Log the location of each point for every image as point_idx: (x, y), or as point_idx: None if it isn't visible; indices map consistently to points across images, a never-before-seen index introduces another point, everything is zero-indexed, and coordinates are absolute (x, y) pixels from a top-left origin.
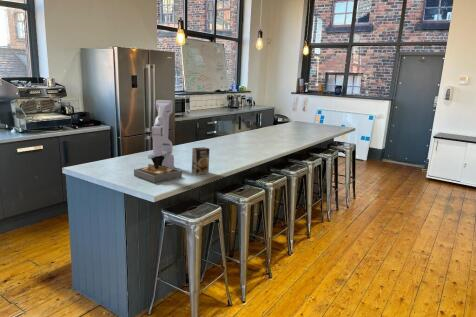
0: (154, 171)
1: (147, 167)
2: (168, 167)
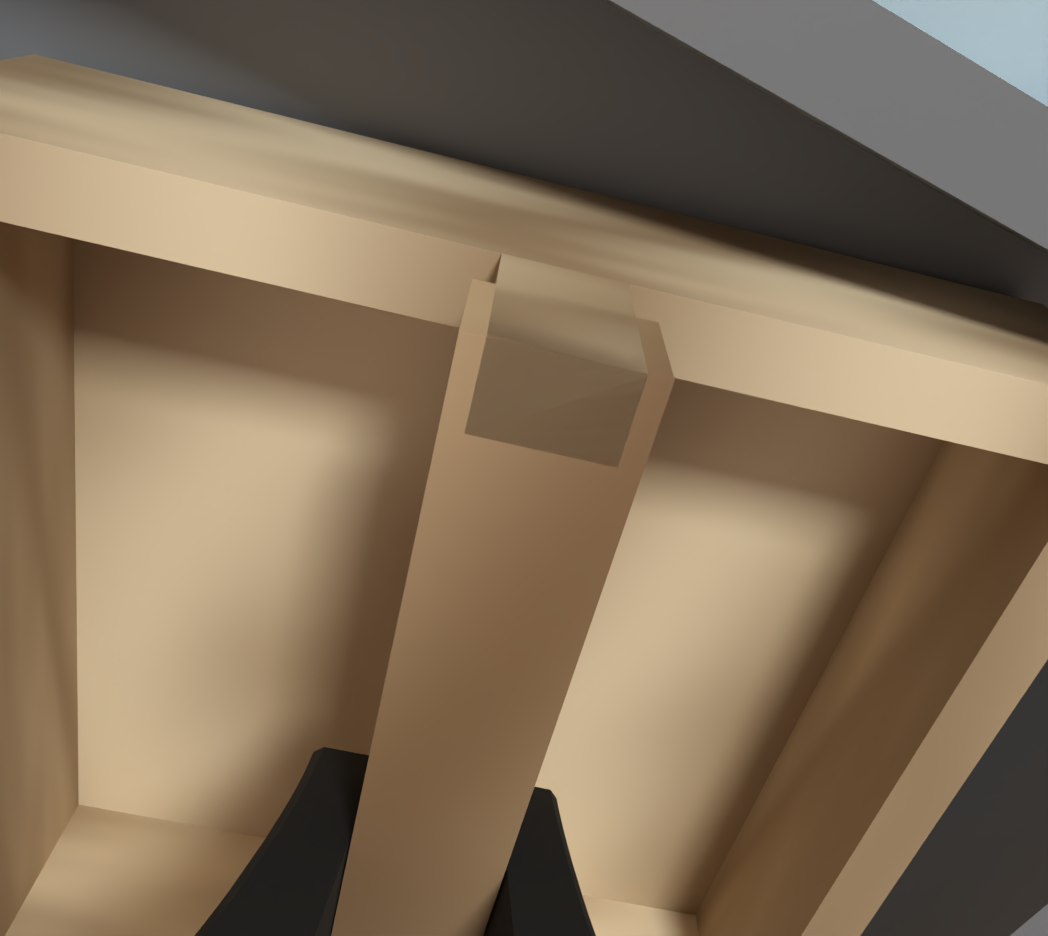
0: (698, 414)
1: (722, 56)
2: (1046, 897)
